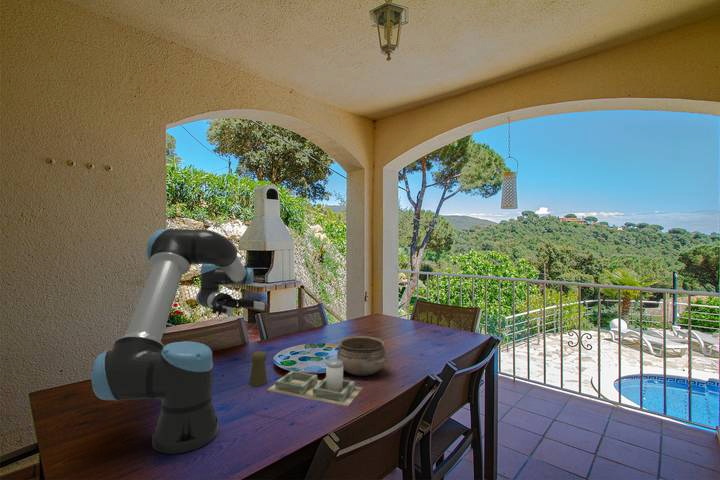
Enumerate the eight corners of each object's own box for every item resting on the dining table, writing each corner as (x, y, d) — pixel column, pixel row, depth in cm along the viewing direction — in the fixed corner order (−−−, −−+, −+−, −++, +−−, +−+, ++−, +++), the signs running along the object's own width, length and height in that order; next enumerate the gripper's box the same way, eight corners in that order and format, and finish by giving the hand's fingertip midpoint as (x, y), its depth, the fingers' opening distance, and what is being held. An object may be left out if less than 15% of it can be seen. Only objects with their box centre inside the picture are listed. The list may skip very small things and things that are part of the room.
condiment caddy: (347, 410, 103) (347, 398, 103) (266, 393, 113) (266, 382, 113) (362, 391, 116) (362, 380, 116) (288, 377, 126) (288, 367, 126)
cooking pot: (402, 377, 129) (402, 345, 129) (367, 392, 115) (368, 356, 115) (356, 359, 147) (357, 331, 147) (321, 370, 133) (322, 339, 133)
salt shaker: (338, 397, 108) (339, 365, 108) (322, 394, 110) (323, 363, 110) (345, 390, 114) (346, 359, 114) (330, 387, 115) (330, 357, 115)
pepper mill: (261, 387, 117) (262, 355, 117) (246, 385, 118) (246, 354, 118) (270, 380, 123) (270, 350, 123) (254, 378, 124) (255, 348, 124)
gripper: (246, 306, 154) (275, 313, 140) (190, 315, 135) (217, 325, 121) (247, 289, 154) (275, 295, 140) (190, 296, 134) (217, 303, 121)
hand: (248, 309), depth 130 cm, fingers open, 13 cm apart
